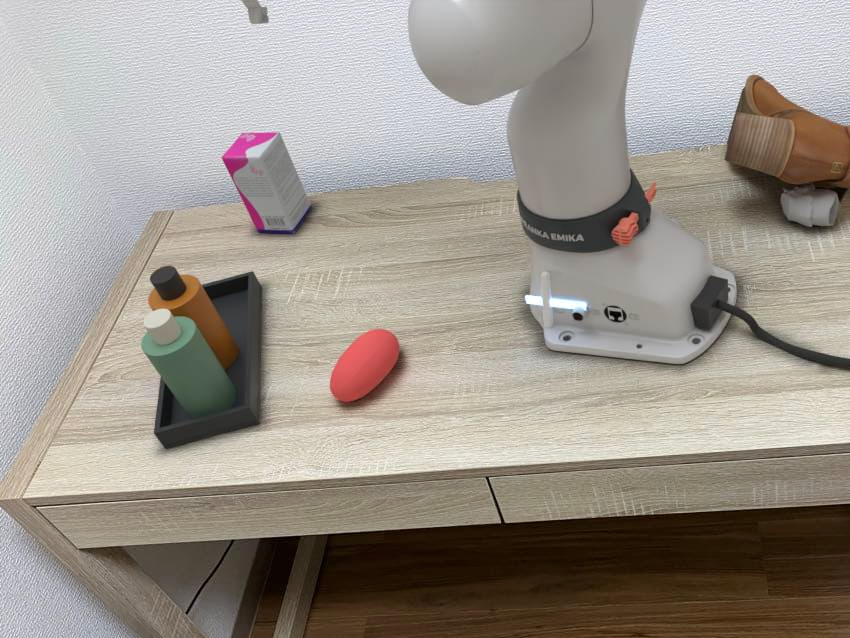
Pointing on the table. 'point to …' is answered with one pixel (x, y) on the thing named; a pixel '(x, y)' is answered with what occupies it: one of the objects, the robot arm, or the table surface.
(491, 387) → the table surface
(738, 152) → the boot
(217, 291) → the tray
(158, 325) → the sage bottle
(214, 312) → the amber bottle
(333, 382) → the stress ball
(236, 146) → the supplement box
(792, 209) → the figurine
